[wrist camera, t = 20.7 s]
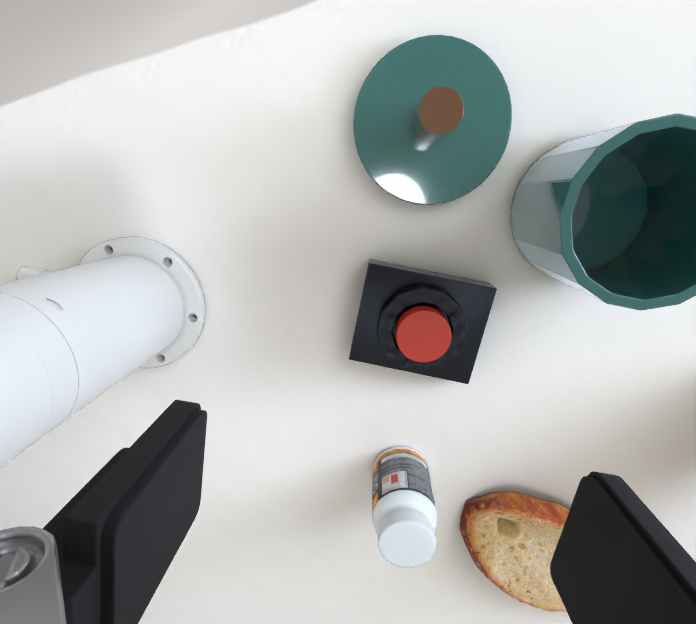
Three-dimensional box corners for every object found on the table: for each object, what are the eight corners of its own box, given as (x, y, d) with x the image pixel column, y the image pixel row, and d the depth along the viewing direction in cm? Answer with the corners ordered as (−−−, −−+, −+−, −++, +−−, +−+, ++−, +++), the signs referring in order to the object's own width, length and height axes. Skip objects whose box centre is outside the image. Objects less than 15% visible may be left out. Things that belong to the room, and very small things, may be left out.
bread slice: (665, 587, 45) (690, 621, 42) (499, 625, 48) (509, 660, 45) (626, 448, 41) (650, 472, 38) (448, 498, 44) (454, 525, 41)
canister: (494, 263, 37) (536, 289, 27) (534, 125, 34) (598, 97, 24) (622, 289, 37) (712, 325, 27) (674, 153, 34) (798, 136, 24)
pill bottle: (363, 455, 44) (358, 529, 34) (415, 436, 43) (425, 506, 33) (386, 499, 45) (389, 582, 35) (437, 480, 44) (453, 561, 34)
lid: (341, 188, 37) (333, 187, 30) (371, 26, 33) (369, -14, 27) (483, 217, 36) (505, 222, 30) (527, 56, 33) (563, 23, 27)
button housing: (350, 350, 41) (347, 367, 37) (369, 258, 38) (368, 266, 34) (463, 374, 40) (472, 393, 37) (490, 283, 38) (503, 293, 34)
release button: (390, 349, 36) (391, 356, 35) (401, 300, 35) (403, 305, 34) (441, 359, 36) (443, 367, 35) (454, 311, 35) (458, 317, 33)
